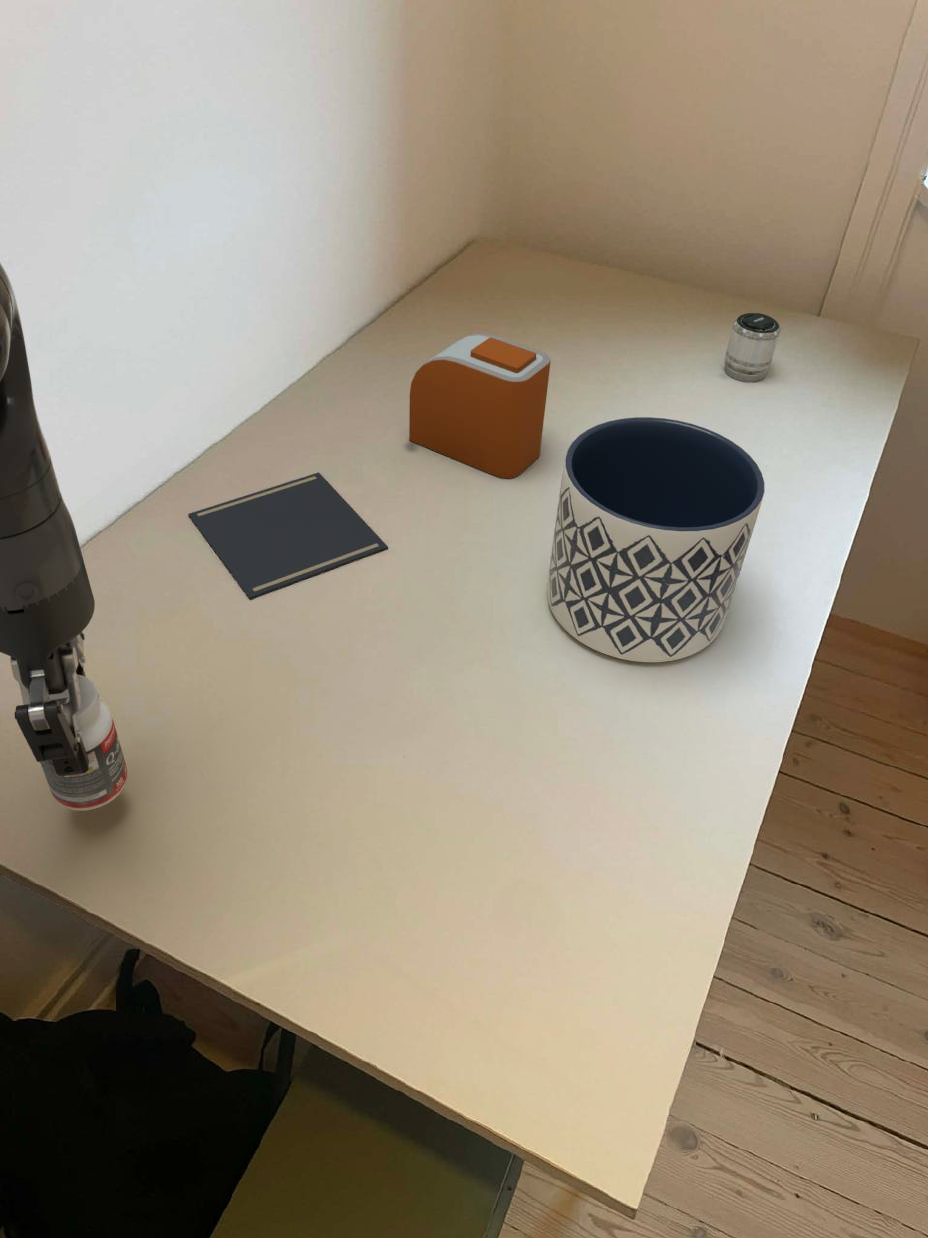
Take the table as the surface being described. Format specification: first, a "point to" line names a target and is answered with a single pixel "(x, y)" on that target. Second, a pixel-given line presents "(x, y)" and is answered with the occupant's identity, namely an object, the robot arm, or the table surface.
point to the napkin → (286, 534)
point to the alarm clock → (482, 404)
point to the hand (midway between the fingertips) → (75, 737)
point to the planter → (651, 536)
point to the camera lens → (751, 346)
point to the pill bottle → (91, 756)
